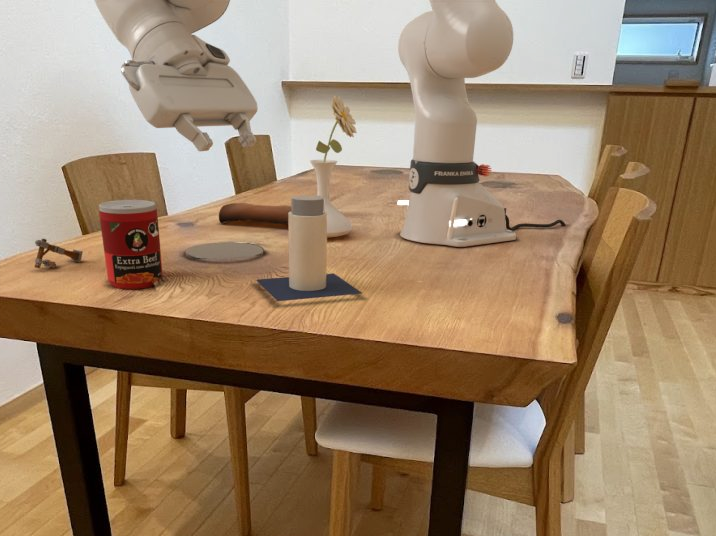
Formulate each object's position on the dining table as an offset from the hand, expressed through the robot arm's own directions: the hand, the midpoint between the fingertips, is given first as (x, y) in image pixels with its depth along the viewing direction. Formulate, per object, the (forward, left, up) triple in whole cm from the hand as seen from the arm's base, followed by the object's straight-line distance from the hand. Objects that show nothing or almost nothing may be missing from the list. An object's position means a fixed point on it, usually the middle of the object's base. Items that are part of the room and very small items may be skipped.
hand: (229, 146), depth 91 cm
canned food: (+14, -2, -19) cm, 23 cm away
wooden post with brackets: (+24, -15, -19) cm, 34 cm away
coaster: (-2, -16, -18) cm, 24 cm away
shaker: (-8, +10, -18) cm, 22 cm away
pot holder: (-8, +10, -18) cm, 22 cm away
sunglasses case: (-16, -40, -19) cm, 47 cm away
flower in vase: (-24, -26, -19) cm, 40 cm away
